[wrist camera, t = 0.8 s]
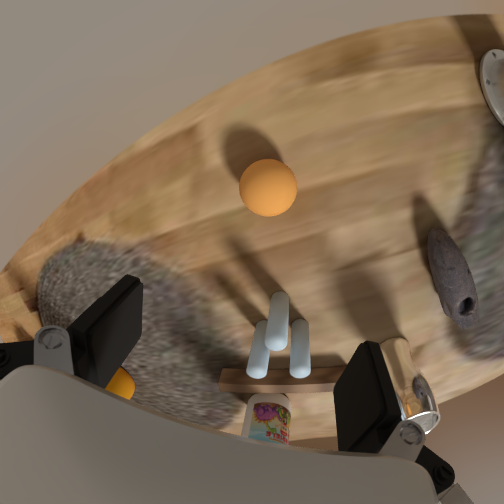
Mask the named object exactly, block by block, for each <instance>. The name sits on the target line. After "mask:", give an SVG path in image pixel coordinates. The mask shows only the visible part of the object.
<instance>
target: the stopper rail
mask: <svg viewBox="0 0 504 504" xmlns="http://www.w3.org/2000/svg"><path fill="white" fill-rule="evenodd" d="M345 368H346V366H340V367H325V368H311V372H310V374H309V375H308V376H307V377H305V378H295V377H293V376H292V375H291V374H290V369H267V374H266V376H265V377H263V378H260V379H256V378H252V377H250V376H249V375H248V374H247V372H246V369H230V368H223V369H222V372H221V375H220V378H219V382H218V385H219V389H220V391H221V392H239V393H314V392H331V391H333V389H334V386H335V384H336V382H337V380H338V379H339V377H340V376H341V374H342V373H343V371H344V369H345Z"/></svg>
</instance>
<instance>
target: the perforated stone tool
mask: <svg viewBox="0 0 504 504" xmlns="http://www.w3.org/2000/svg"><path fill="white" fill-rule="evenodd" d="M427 251H428V259H429V264H430V268H431V272H432V276H433V280H434V283H435V287H436V289H437V292H438V294H439V298H440V302H441V305H442V308H443V311H444V313H445V314H446V315H447V316H449V317H450V318H452V319H453V320H454V321H455V322H456V324H458V325H459V326H460V327H461V328H462V329H466V328H468V327H470V326H473V325H475V324H477V322H478V320H479V307H478V298H477V293H476V288H475V284H474V281H473V278H472V274H471V272H470V269H469V267H468V264H467V262H466V260H465V258H464V256H463V255H462V253H461V251H460V250H459V248H458V247H457V245H456V244H455V242H454V241H453V240H452V239H451V237H450V236H448V235H447V234H446V233H445V232H443V231H442V230H440V229H438V228H434V227H433V228H432V229H431V230H430V231H429V234H428V241H427Z"/></svg>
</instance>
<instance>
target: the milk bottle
mask: <svg viewBox="0 0 504 504" xmlns="http://www.w3.org/2000/svg"><path fill="white" fill-rule="evenodd" d="M290 418H291V403H290V401H289V399H288V398H287V397H286V396H284V395H283V394H280V393H256V394H254V395H252V397H251V398H250V399H249V400H248V404H247V408H246V413H245V418H244V423H243V428H242V433H241V436H243V437H247V438H252V439H256V440H261V441H267V442H272V443H278V444H284V445H289V434H290Z"/></svg>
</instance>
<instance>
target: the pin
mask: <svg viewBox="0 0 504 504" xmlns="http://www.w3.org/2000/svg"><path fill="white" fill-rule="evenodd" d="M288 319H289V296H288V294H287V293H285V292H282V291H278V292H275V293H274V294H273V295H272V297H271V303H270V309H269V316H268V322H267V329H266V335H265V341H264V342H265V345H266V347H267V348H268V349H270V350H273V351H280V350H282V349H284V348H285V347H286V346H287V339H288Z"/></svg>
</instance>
